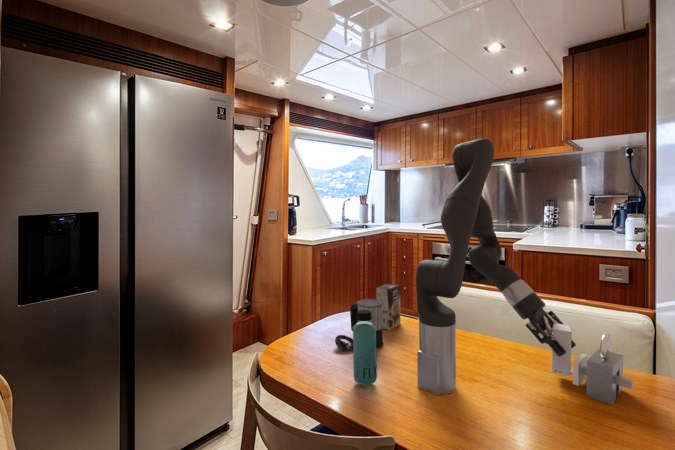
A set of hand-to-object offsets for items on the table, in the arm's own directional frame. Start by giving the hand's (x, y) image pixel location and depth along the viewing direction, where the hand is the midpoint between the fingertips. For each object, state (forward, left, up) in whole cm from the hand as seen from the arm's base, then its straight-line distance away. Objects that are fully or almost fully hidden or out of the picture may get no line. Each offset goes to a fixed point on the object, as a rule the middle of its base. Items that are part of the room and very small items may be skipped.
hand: (568, 350), depth 92 cm
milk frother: (-25, +54, -9) cm, 61 cm away
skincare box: (0, +2, -6) cm, 6 cm away
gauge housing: (+2, -3, -8) cm, 9 cm away
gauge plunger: (+2, -8, -8) cm, 11 cm away
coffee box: (-3, +61, -9) cm, 62 cm away
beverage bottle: (-42, +34, -8) cm, 55 cm away
